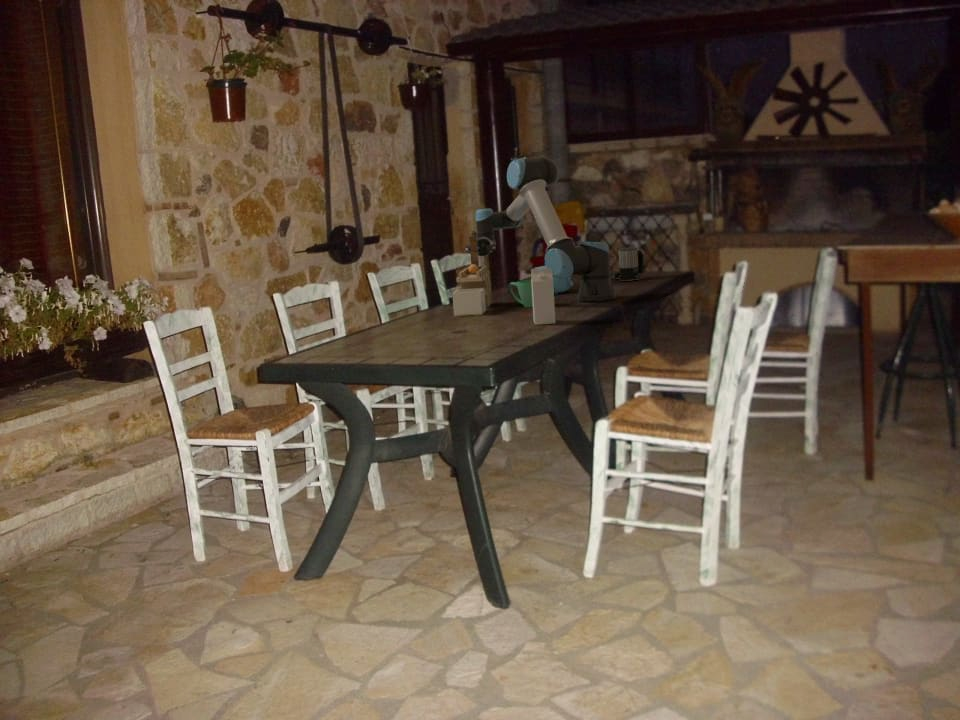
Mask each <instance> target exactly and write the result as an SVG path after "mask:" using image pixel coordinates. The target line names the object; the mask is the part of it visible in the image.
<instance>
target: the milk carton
mask: <svg viewBox="0 0 960 720" xmlns="http://www.w3.org/2000/svg"><path fill="white" fill-rule="evenodd" d="M530 272H531V273H530V280H531V286H532V302H533V307H532V319H533V323H534V325H536V326H537V325H539V326H540V325H548V324H549V325H551V324H552V325H553V324H556V309H555V295H554V288H553V276H552V268H544V269H534V268H532V269H530Z"/></svg>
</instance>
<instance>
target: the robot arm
mask: <svg viewBox="0 0 960 720" xmlns="http://www.w3.org/2000/svg"><path fill="white" fill-rule="evenodd" d="M506 170H507V171H506V181H507V185H508V187H509V188H510V189H512V190H517V191H518V195H517V196H516V197H515V199H514V200H513V201H512V203H511V204H510V205H509V206H508V207H507V208H506V209H505V210H504V211H494V210H493V209H492V208H481V209H477V210H475V222H476V223H475V225H476V233H477V243H478V257H486V256H487V255H489V254H491V253H493V251H494V252H495V251H496V246H497V242H496V239H495V231H497V230H504V229H514V228H518V227H521V226H522V225H523V221H524V216H525V215H526V213H527V212H528V211H531V213H532V215H533V217H534V220H535V222H536V224H537V226H538V228H539V230H540V234H541V235H542V237H543V240H544V241H545V244H546V246H547V247H546V248H545V254H544V266H546V268H552V276H553V277H556V278H568V277H571V278H572V277H578V276H580V283H579V286H578V292H577V295H576V296H577V297H576V299H577V301H578V302H583V301H588V302H589V301H590V302H589V303H591V301H598V302H605V301H604V300H607V301H611V300H610V299H612V300H614V298H615V299H616V292H615V289H614V286H613V283H612V281H611V271H610V270H611V269H610V268H611V267H610V266H611V265H610V248H609V244H608V243H607V242H604V241H603V242H600V241H579V243H578V245H576V243H575V241H574V239H573V238H572V237H569V236H567V234H566V230H565V229H564V226H563V224H562V222H561V220H560V217H559V216H558V214H557V211H556V209H555V207H554V205H553V203H552V201H551V199H550V197H549V194H548V192H549V191H551V190H552V189H553V188H554V186H555V185H557V183H558V180H559V176H560V171H559V167H558V165H557V164H556V162H555V161H553V159H551V158H549V157H545V156H544V157H543V156H541V157H530V158H518V159H514V160H512V161H510V163H509V165H508V168H507V169H506ZM465 252H466V253H468V254H470V245H466V246H465Z"/></svg>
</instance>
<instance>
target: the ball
mask: <svg viewBox="0 0 960 720" xmlns="http://www.w3.org/2000/svg"><path fill="white" fill-rule="evenodd" d="M468 267H469V268H468V270H469V272H470V273H471V274H476V272H477V271H478V266H477V265H475V264H472V265H471V264H470V265H469V266H468Z"/></svg>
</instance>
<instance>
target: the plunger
mask: <svg viewBox="0 0 960 720" xmlns="http://www.w3.org/2000/svg"><path fill="white" fill-rule="evenodd" d="M468 238H469V239H468V240H469V246H470V253H469V255H470V265H472V264H475V265H477V266H478V270H480V269H481V268H482V267H483V266H482V265H481V266H480V259H479V257H480V256H479V255H478V243H477V231H475V230H471V231H470V232H469V233H468ZM468 273H470V272H469V270H468Z"/></svg>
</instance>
